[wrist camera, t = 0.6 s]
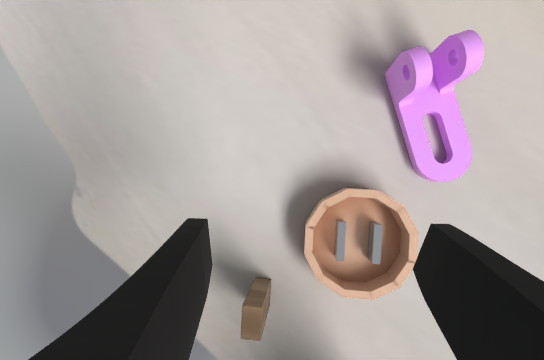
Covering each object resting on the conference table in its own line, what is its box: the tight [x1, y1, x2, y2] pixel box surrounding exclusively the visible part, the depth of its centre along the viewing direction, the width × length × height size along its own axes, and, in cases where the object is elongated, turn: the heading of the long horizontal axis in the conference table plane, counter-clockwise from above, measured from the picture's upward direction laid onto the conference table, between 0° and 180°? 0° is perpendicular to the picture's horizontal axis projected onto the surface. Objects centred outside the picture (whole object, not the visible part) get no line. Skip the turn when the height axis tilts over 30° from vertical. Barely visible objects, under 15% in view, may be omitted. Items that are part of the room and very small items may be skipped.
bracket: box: [385, 30, 484, 182], centre depth 26 cm, size 13×6×7 cm, turn 16°
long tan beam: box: [241, 278, 271, 341], centre depth 28 cm, size 3×2×7 cm, turn 177°
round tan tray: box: [304, 188, 419, 300], centre depth 29 cm, size 11×11×3 cm
